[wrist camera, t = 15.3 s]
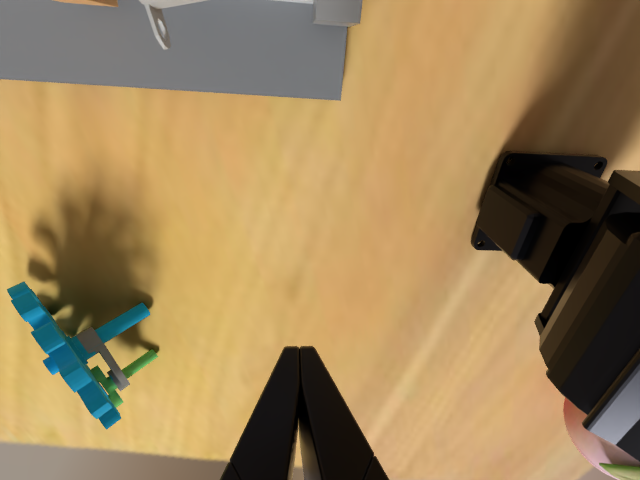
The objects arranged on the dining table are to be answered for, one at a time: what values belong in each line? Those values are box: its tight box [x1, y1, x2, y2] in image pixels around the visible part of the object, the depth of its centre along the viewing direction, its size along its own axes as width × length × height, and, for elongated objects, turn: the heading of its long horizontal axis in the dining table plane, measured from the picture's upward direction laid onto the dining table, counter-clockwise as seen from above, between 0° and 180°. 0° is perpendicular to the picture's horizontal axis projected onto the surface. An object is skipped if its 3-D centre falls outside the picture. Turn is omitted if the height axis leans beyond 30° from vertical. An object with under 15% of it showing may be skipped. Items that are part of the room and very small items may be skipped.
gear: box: [7, 282, 158, 430], centre depth 21 cm, size 11×6×10 cm
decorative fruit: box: [563, 397, 640, 480], centre depth 26 cm, size 9×8×10 cm
